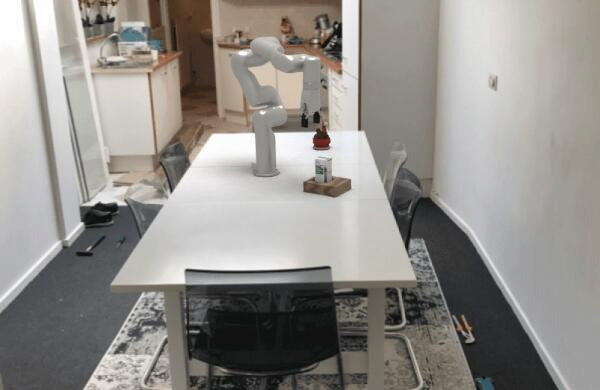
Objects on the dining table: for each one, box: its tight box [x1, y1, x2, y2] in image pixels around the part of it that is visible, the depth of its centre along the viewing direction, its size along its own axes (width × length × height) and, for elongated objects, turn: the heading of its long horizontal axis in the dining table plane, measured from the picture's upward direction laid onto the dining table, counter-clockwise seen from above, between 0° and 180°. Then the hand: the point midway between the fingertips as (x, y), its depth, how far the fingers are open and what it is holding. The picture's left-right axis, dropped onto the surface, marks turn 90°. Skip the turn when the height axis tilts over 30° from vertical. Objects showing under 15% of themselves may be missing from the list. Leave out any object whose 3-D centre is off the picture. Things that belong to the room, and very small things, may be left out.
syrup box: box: [314, 155, 333, 183], centre depth 284 cm, size 6×6×14 cm
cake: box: [312, 115, 332, 151], centre depth 356 cm, size 11×9×18 cm
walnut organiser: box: [302, 175, 352, 198], centre depth 284 cm, size 16×14×4 cm
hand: (310, 125), depth 283 cm, fingers open, 9 cm apart
